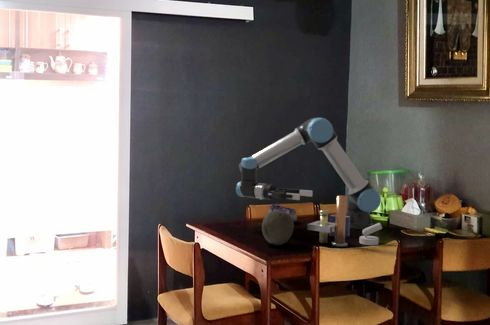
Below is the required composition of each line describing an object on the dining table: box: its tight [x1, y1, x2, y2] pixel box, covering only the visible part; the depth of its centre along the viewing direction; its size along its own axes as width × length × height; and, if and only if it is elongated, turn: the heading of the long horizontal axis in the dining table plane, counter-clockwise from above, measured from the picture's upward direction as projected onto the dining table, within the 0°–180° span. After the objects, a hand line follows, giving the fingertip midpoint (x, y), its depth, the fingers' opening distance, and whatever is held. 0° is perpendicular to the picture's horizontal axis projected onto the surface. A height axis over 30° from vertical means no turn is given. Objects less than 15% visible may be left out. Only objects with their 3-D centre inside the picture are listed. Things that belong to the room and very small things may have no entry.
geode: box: [268, 202, 298, 222], centre depth 320 cm, size 20×12×10 cm, turn 34°
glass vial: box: [318, 209, 330, 244], centre depth 269 cm, size 4×4×14 cm
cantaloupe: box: [261, 211, 295, 247], centre depth 262 cm, size 14×14×15 cm
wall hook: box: [358, 222, 383, 246], centre depth 271 cm, size 9×10×10 cm
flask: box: [328, 213, 351, 238], centre depth 285 cm, size 10×3×12 cm, turn 74°
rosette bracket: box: [306, 195, 348, 248], centre depth 267 cm, size 17×11×22 cm, turn 58°
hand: (306, 195), depth 275 cm, fingers open, 13 cm apart
